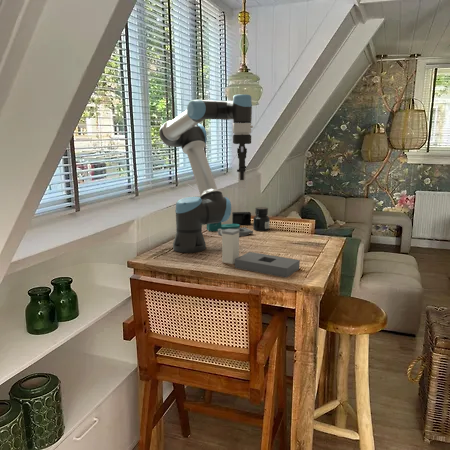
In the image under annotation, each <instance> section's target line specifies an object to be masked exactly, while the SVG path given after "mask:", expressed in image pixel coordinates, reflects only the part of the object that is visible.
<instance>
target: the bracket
mask: <svg viewBox="0 0 450 450" xmlns="http://www.w3.org/2000/svg"><path fill="white" fill-rule="evenodd" d="M233 228H241V225H239V224H232V223H223V224H222V222H220V223H213V224H206V230H207V231H208V233H209V232H219V231H218V229H222V230H223V229H233Z"/></svg>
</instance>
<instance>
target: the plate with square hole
mask: <svg viewBox="0 0 450 450" xmlns="http://www.w3.org/2000/svg"><path fill="white" fill-rule="evenodd" d="M300 262H301V261H300V259H296V258H288V257H283V256H277V255H271V254H267V253H266V254H264V253H259V252H252V251H248V252H246V253H244V254H242V255H239V257H238V258H236V259H235V263H234V268H235V269H238V270H244V271H250V272H255V273H261V274H265V275H270V276H276V277H281V278H286V279H287V278H289V277H290V276H291V275H293V274H294V273H296V272H298V271H299V270H300V265H301V263H300Z"/></svg>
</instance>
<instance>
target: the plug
mask: <svg viewBox="0 0 450 450" xmlns="http://www.w3.org/2000/svg"><path fill="white" fill-rule="evenodd" d="M221 245H222V246H221V253H222V254H221V256H222V257H221V262H222V263H224V264H230V265H235V259H236V258H238V257H240V236H239V230H234V229H226V230H224V231H222V236H221Z"/></svg>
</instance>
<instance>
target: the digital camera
mask: <svg viewBox="0 0 450 450" xmlns="http://www.w3.org/2000/svg"><path fill="white" fill-rule="evenodd" d="M231 214H232V216H231V217H232V222H231V224H239V225H240V226H250V225H252V213H251V211H233V212H232V211H231Z"/></svg>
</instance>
